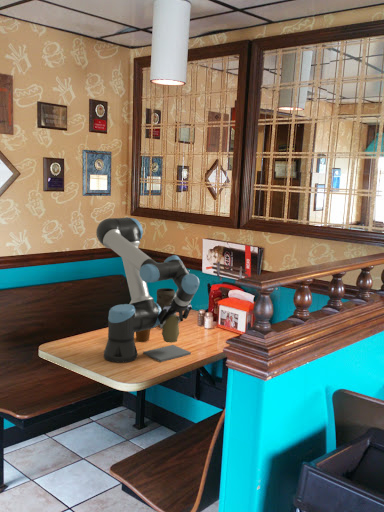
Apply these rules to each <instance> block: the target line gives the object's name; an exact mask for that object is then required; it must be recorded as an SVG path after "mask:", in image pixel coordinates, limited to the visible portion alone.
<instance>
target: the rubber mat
mask: <svg viewBox="0 0 384 512" xmlns="http://www.w3.org/2000/svg"><path fill="white" fill-rule="evenodd" d="M142 353H143V355H145V356H146V357H149V358H150V359H153V360H156V361H158V362H160V363H162V362H167V361H171V360H174V359H178V358H182V357H186V356H190V355H192V351H189V350H186V349H184V348H182V347H179V346H177V345H175V344H170V345H166V346H161V347H158V348H154V349H150V350H145V351H143V352H142Z"/></svg>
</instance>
